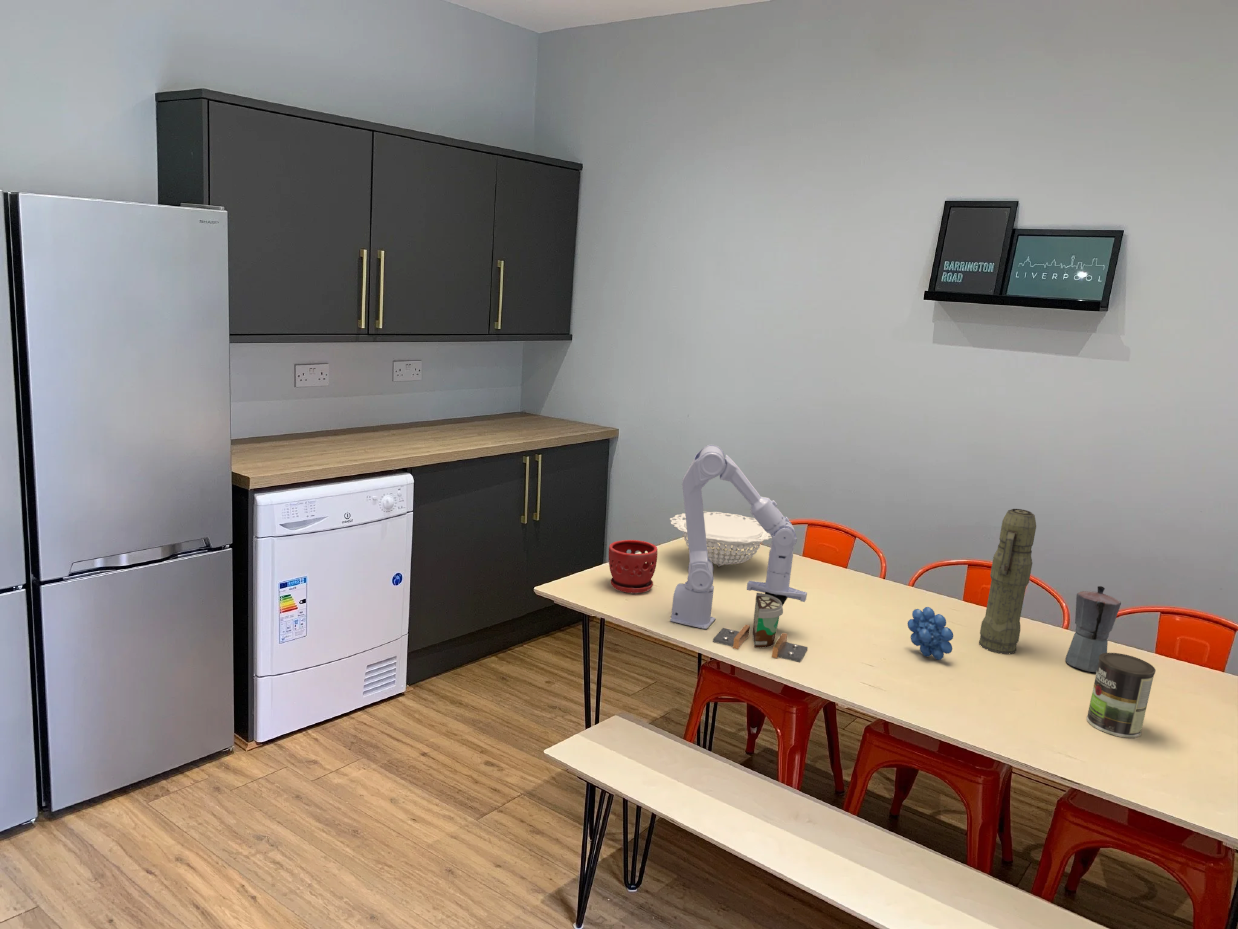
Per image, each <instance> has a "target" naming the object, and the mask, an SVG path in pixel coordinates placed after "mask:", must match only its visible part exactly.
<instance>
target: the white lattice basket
mask: <svg viewBox="0 0 1238 929" xmlns="http://www.w3.org/2000/svg"><path fill="white" fill-rule="evenodd" d="M669 521H670V525H673V528H675V529H677V530H678V531H680V532H682V533H683V538H684V541H685V546H687V548H688V549H689V545H688V535H687V525H686V516H685V512H684V513H683V512H682V513H681V514H676V515H674V516H673V517H670V518H669ZM704 521H705V531H706V541H707V550H708V557H709V559H710V561H711V562H712V564H713V565H717V566H718V567H721V566H724V565H726V566H728V565H737V564H742V563H745V562H747V561H749V560H750V559H753V557H754V555H756V554H757V552H758V550H759V549H760V547H761V543H762V542H763V541H769V539H772V537H771V535H770V534H769V533H767V532H766V531H765V530H764V529H763V527H762V526H761V525H760V524H759V523H758V521H757V520H756V519H755V518H754V517H749V516H744V515H742V514H736V513H735V514H734V513H730V512H729V513H728V512H727V513H725V512H721V511H704ZM718 548H719V549H718Z"/></svg>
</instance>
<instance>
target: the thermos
mask: <svg viewBox="0 0 1238 929" xmlns="http://www.w3.org/2000/svg"><path fill="white" fill-rule="evenodd" d="M1036 530H1037V522H1036V515H1035V514H1034V513H1033V512H1031V511H1029V510H1026V509H1021V508H1011V509H1009V510H1007V511H1006V513H1005V515H1004V517H1003V518H1002V522H1001V527H1000V533H999V543H998V544H997V549H996V551H995V553H994V554H993V556H992V557H993V558H992V564H991V570H990V579H991V581H990V587H989V593H988V599H987V602H986V603H987V604H986V610H985V615H984V618H983V619H982V621H981V625H980V630H979V634H980V637H979V641H978V645H979V646H980V645H981V646H982V649H984V648H985V649H984V650H986V649H988V650H987V651H989V652H992V651H993V652H992V653H995V652H997V653H996V654H1000V653H1002V654H1001V655H1012V653H1013V652H1015V651H1016V652H1017V646H1018V642H1019V640H1020V634H1021V616H1022V609H1023V605H1024V599H1025V594H1026V588H1027V586H1028V585H1029V583H1030V579H1031V574H1032V568H1033V558H1032V551H1033V550H1032V546H1033V545H1034V540H1035V535H1036ZM981 646H980V647H981ZM1016 652H1015V653H1016ZM1009 653H1010V654H1009ZM1013 654H1014V653H1013Z"/></svg>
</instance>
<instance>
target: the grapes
mask: <svg viewBox="0 0 1238 929" xmlns="http://www.w3.org/2000/svg"><path fill="white" fill-rule="evenodd" d="M911 613H912V614H911V616H912V618H910V619H909V620H908V621H907V628H908V629H909V631H910V632H912V633H911V634H910V637H909V638H910V641H911V643H912V644H913V645H914V646H916V647H919V651H920V653H921V654H922V655H923V657H926V658H927V657H928V658H930V656H932V657H933V658H934V659H935V660H938V661H940V660H942V659H943V658H944V657H945V655H947V654H948V655H949V654H951V653H952V652H953V646H952V643H951V642H950V641H952V640H953V639H954V634H953V633H954V632H953V631H952V629H951V628H949V627H948V626H946V625H947V619H946V617H945V616H944V615H943V614H941V613H936V614H935V611H934V609H933V608H932V607H929V606H925V607H924V608H923V609H922V610H921V609H919V608H915V609H914V610H913V611H912V612H911Z"/></svg>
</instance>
